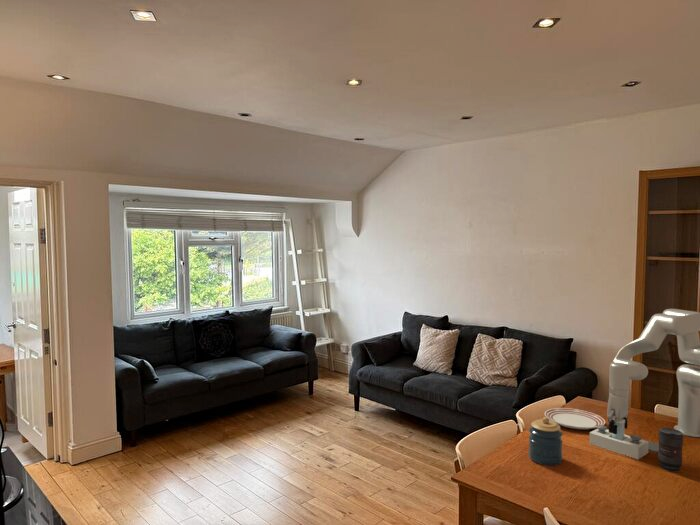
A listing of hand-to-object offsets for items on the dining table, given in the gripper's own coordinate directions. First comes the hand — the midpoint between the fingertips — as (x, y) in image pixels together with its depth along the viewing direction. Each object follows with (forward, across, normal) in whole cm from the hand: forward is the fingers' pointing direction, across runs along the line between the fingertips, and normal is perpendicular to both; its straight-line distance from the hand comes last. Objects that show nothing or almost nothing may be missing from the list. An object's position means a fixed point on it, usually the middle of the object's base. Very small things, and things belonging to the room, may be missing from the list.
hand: (618, 430), depth 210 cm
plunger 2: (+6, 0, +7) cm, 10 cm away
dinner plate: (+8, -14, -27) cm, 32 cm away
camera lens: (+8, +3, +21) cm, 23 cm away
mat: (+8, -12, +8) cm, 17 cm away
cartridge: (+8, 0, 0) cm, 8 cm away
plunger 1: (+6, 0, -7) cm, 9 cm away
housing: (+8, 0, 0) cm, 8 cm away
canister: (+8, +34, -14) cm, 37 cm away
